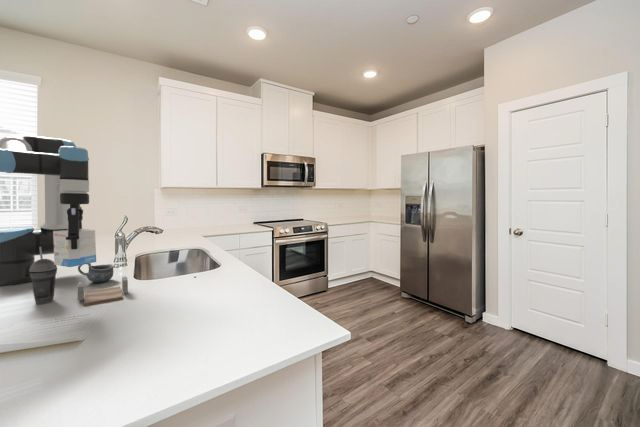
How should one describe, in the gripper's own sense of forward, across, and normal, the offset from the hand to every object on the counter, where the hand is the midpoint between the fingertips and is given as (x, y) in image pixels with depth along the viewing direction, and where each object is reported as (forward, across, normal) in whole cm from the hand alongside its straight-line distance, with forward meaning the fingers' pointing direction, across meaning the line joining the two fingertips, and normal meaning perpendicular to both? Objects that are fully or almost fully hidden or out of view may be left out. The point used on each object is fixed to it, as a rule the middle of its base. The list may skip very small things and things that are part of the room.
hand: (76, 255), depth 96 cm
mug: (+18, -29, +5) cm, 34 cm away
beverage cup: (+18, -11, -10) cm, 23 cm away
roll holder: (+18, -6, +7) cm, 20 cm away
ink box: (+3, 0, 0) cm, 3 cm away
